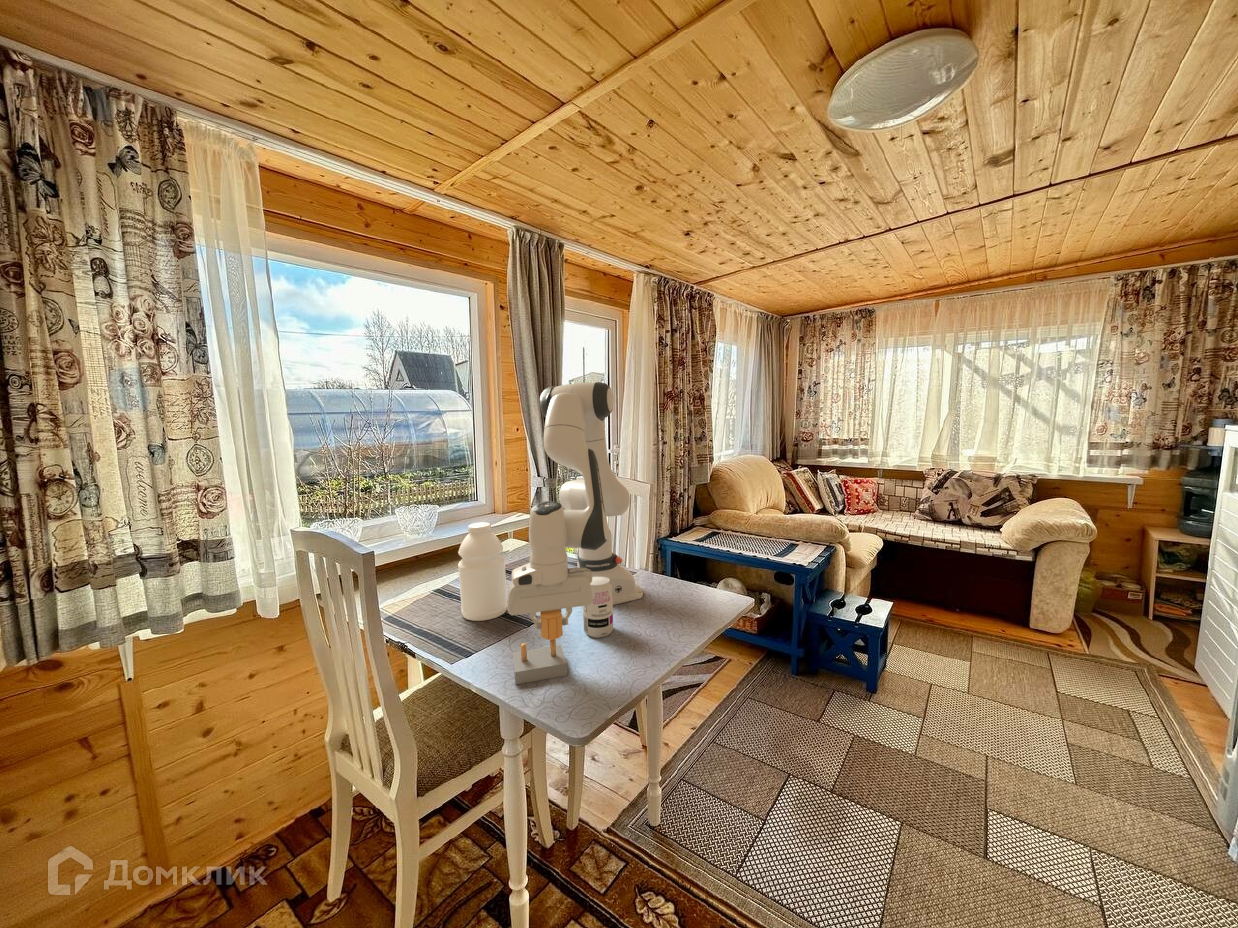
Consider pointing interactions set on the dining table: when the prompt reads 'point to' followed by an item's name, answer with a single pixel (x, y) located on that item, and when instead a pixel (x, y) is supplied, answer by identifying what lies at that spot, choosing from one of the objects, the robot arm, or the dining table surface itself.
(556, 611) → the wire nut cap
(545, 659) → the pegged grey base
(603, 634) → the supplement can
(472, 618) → the bottle
